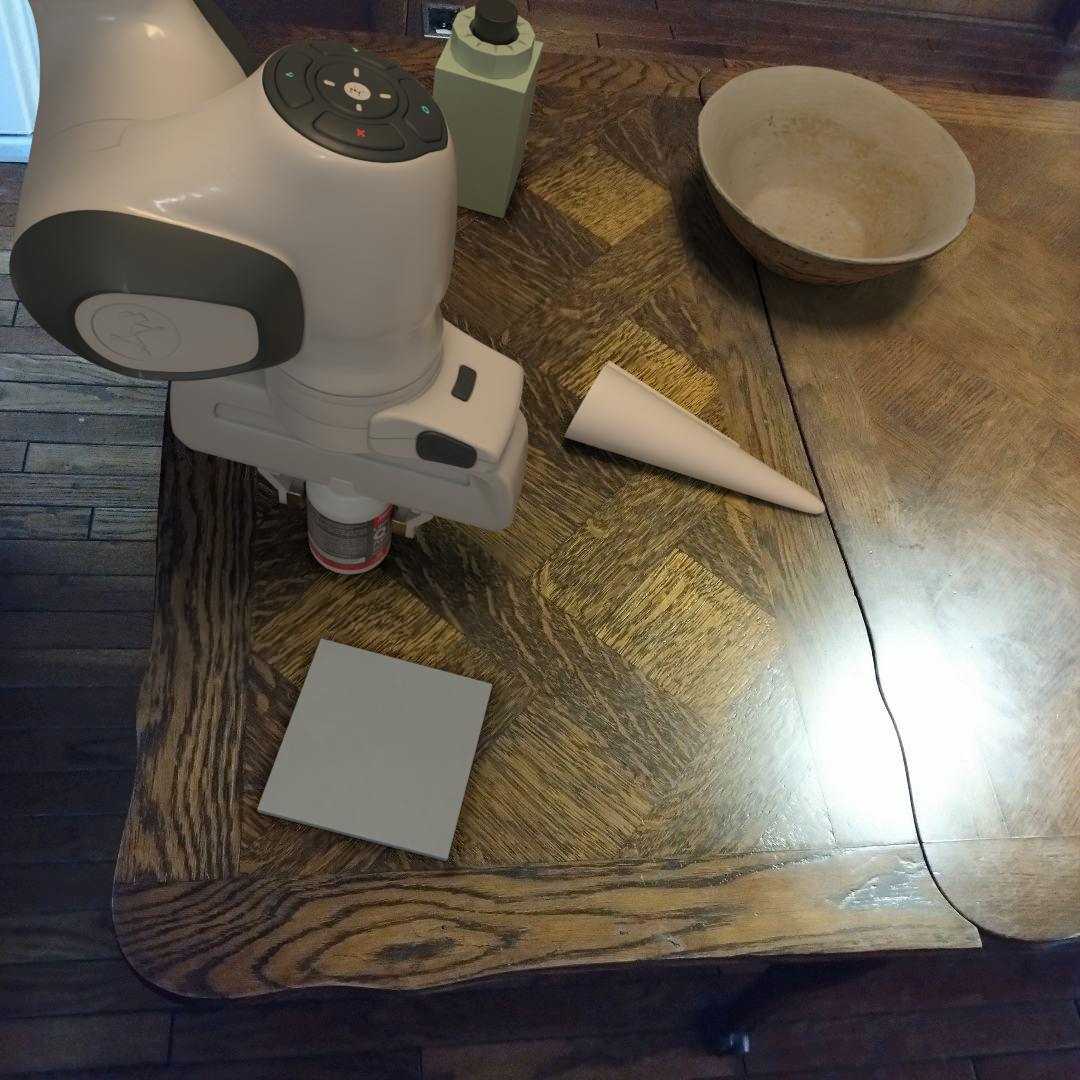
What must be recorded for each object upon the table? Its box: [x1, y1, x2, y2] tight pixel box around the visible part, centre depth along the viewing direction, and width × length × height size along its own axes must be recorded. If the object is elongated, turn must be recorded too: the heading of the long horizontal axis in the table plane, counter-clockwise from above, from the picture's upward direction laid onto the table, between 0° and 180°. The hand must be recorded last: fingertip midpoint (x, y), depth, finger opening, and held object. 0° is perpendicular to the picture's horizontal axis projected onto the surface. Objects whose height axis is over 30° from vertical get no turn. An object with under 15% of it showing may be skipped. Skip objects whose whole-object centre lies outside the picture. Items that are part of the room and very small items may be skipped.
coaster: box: [256, 638, 493, 862], centre depth 58 cm, size 11×11×1 cm
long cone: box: [563, 360, 826, 515], centre depth 71 cm, size 6×6×19 cm
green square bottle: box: [432, 5, 545, 219], centre depth 80 cm, size 7×7×14 cm
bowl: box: [695, 64, 977, 286], centre depth 85 cm, size 24×24×10 cm
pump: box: [473, 0, 519, 45], centre depth 74 cm, size 3×3×2 cm
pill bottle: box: [306, 478, 395, 575], centre depth 61 cm, size 5×5×10 cm
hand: (350, 512), depth 62 cm, fingers open, 6 cm apart
